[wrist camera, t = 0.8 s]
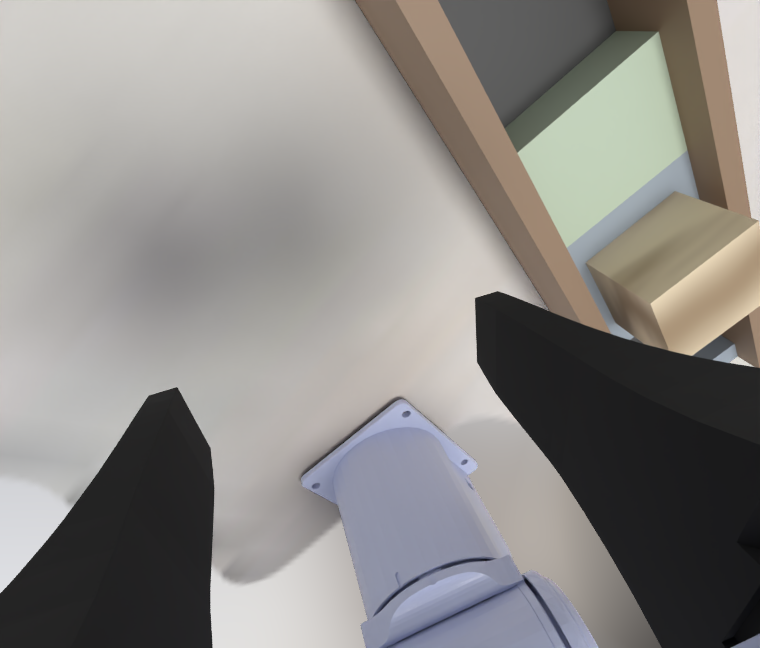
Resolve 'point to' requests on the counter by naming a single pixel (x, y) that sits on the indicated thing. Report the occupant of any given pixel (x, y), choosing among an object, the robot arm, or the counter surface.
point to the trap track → (577, 125)
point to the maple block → (681, 273)
